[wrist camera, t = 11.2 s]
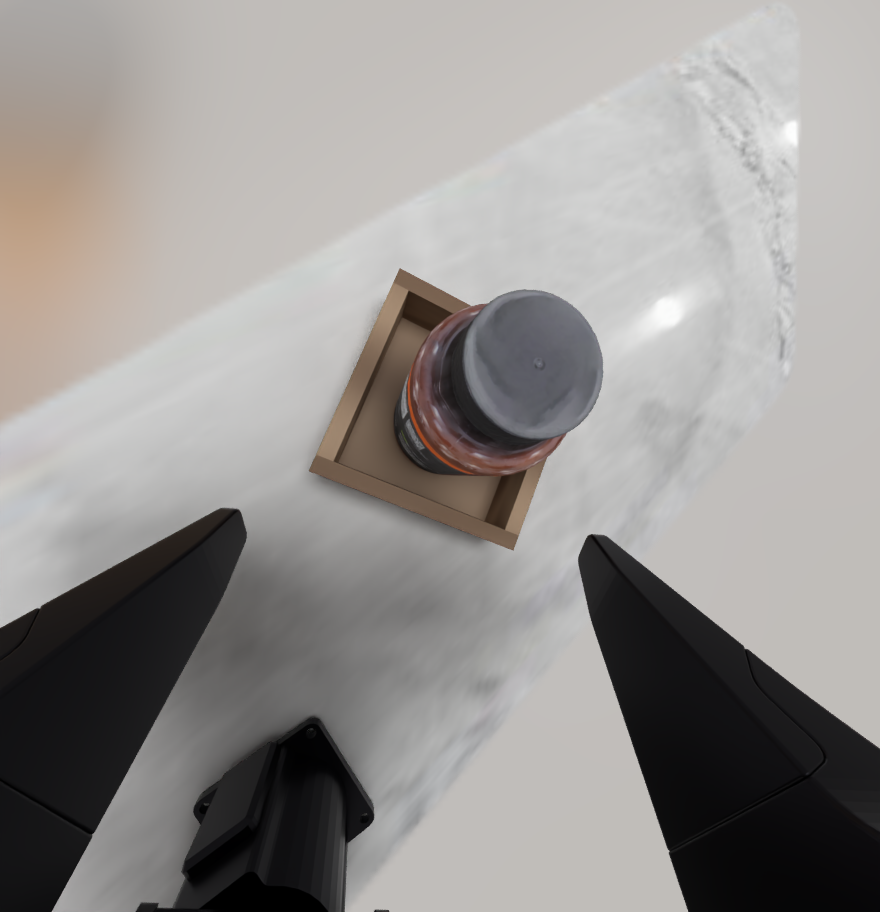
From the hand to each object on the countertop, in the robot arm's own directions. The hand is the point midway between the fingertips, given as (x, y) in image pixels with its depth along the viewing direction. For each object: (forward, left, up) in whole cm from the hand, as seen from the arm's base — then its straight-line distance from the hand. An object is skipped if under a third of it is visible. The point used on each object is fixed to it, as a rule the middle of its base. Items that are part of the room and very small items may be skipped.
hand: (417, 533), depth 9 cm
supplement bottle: (+2, -5, -10) cm, 12 cm away
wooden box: (+2, -5, -11) cm, 12 cm away
